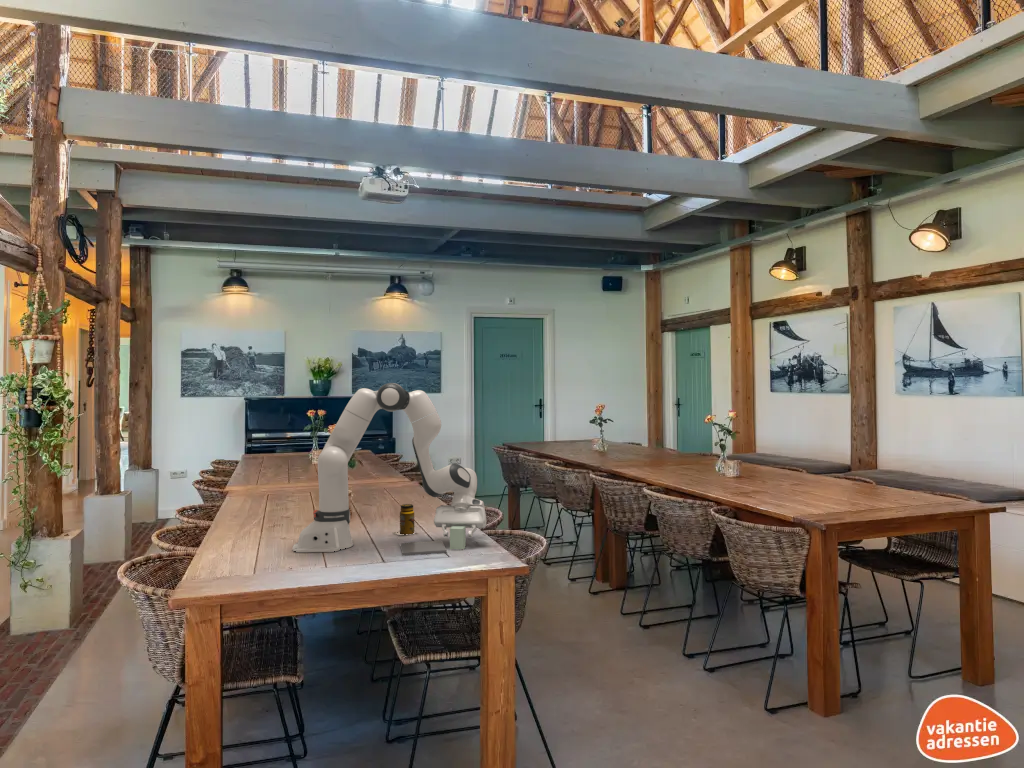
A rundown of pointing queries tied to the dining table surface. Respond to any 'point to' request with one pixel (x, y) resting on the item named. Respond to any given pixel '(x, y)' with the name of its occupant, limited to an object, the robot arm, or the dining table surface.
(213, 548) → the dining table surface
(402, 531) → the condiment
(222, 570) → the dining table surface
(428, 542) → the board
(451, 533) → the block
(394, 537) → the dining table surface
